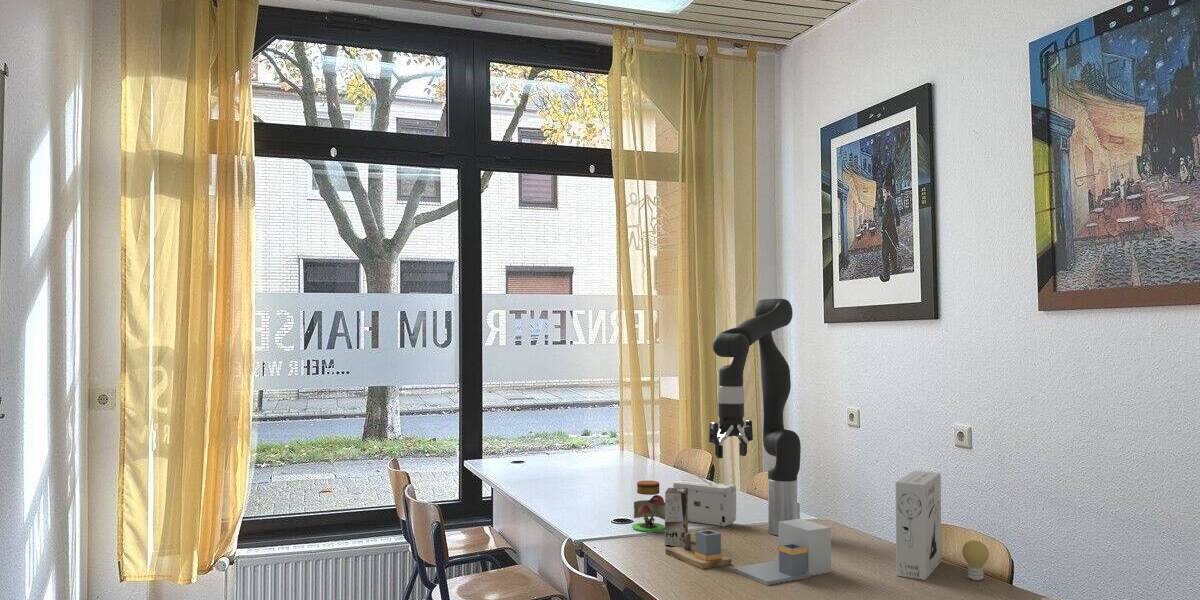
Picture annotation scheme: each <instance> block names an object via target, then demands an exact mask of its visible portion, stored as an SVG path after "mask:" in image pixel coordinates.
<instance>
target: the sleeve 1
mask: <svg viewBox="0 0 1200 600" xmlns="http://www.w3.org/2000/svg"><path fill="white" fill-rule="evenodd" d="M695 545H696V552H695V557H698V558H700V559H703V560H705V561H709V560H716V559H721V558H722V555H723V553H722V534H721V533H720V532H718V531H716V530H712V529H706V530H705V529H704V530H699V531H695Z"/></svg>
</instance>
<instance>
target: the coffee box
mask: <svg viewBox="0 0 1200 600" xmlns="http://www.w3.org/2000/svg"><path fill="white" fill-rule="evenodd" d="M664 493H665V494H664V497H665V498H664V502H665V520H664V546H666V545H670V546H669V547H679V546H684V534H685V533H689V523H688V522H689V521H688V488H674V487H667V489H666V491H665V492H664Z"/></svg>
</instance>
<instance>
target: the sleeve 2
mask: <svg viewBox="0 0 1200 600" xmlns="http://www.w3.org/2000/svg"><path fill="white" fill-rule="evenodd" d="M778 550H779V572H781V573H784V574H786V575H789V576H792V577H793V576H798V575H804V574H806V552H807V547H804V546H801V545H798V544H795V543H791V544H784V545H779V546H778V545H777V551H778Z"/></svg>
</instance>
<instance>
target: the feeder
mask: <svg viewBox="0 0 1200 600" xmlns="http://www.w3.org/2000/svg"><path fill="white" fill-rule="evenodd" d="M831 529H832V527H830V526H828V525H823V524H820V523H816V522H814V521H809V520H806V519H802V518H800V519H794V520H787V521H780V522H778V535H777V536H778V538H777V540H778V542H777V543H778V544H777V547H778V546H779V545H784V544H791V543H795V544H798V545H801V546H804V547H807V552H806V574H804V575H798V576H793V577H792V576H789V575H786V574H784V573H781V572H779V550H778V549H777V551H778V560H774V561H773V560H772V561H766V562H761V563H760V562H759V563H754V564H749V565H742V566H741V565H740V566H738V567H737V566H736V567H733V568H732V572H733V573H736V574H737V575H741V576H743V577H744V578H745V577H746V578H748V579H750V580H753V581H755V582H758V583H761V584H763V585H765V586H771V584H772V585H776V583H777V584H781V583H780V582H783V583H787V582H786V581H788V582H793V581H792V580H794V581H798V580H797V579H799V580H803V579H802V578H804V579H810V578H812V576H811V575H813V576H818V575H823V574H822V573H824V574H829V573H832V532H831V531H832V530H831ZM828 572H829V573H828ZM817 574H818V575H817ZM809 577H810V578H809Z"/></svg>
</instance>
